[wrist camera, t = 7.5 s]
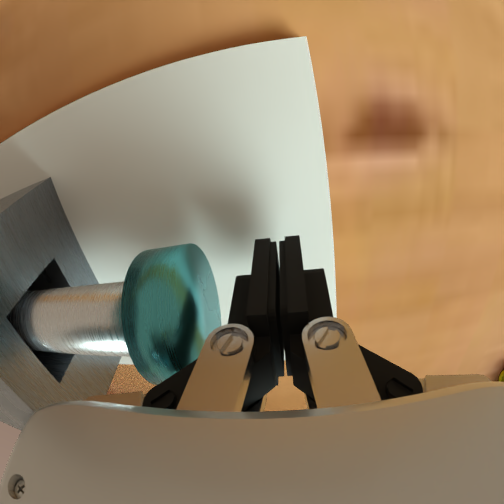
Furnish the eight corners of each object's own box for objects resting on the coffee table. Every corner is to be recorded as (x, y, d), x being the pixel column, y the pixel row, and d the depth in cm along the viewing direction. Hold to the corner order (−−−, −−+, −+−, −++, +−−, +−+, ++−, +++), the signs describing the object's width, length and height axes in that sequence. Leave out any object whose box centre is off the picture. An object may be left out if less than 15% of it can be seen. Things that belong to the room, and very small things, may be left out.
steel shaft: (195, 218, 11) (152, 312, 7) (227, 315, 13) (210, 412, 9) (-58, 273, 14) (-91, 312, 10) (-29, 320, 17) (-56, 360, 13)
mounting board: (302, 39, 10) (306, 36, 9) (334, 339, 18) (336, 354, 17) (-59, 190, 14) (-69, 197, 13) (29, 345, 22) (23, 354, 21)
